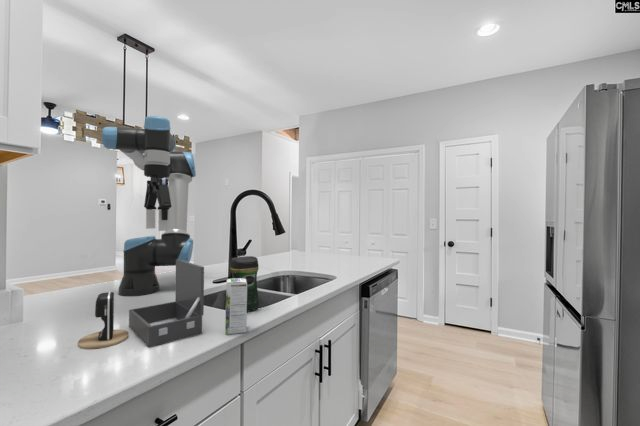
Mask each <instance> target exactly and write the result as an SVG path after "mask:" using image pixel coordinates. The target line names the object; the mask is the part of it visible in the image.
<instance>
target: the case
mask: <svg viewBox="0 0 640 426" xmlns="http://www.w3.org/2000/svg"><path fill="white" fill-rule="evenodd" d="M204 286H205V266H201V265H198V264H195V263H191V262H186V261H182V260H179V259H176V266H175V301H171V302H166V303H159V304H153V305H150V306H149V305H148V306H142V307H137V308H131V309H129V310H128V328H130V329H131V330H132V332H133V333H134V334H135V335H136V336H137V337H138V338H139V339H140V340H141V341H142V343H144V344H145V345H146V346H147V347H148V348H153V347H156V346H159V345H163V344H167V343H170V342H171V343H172V342H174V341H178V340H183V339H186V338H189V337H190V338H191V337H194V336H197V335H201V334H203V316H204V310H205V309H204V307H205V305H204V304H205V303H204V300H205V299H204V297H205V294H204V293H205V291H204V289H205V287H204ZM171 319H177V320H172V321H167V320H171ZM163 321H167V322H163ZM157 322H158V324H154V325H151V324H153V323H157ZM159 322H162V323H159Z"/></svg>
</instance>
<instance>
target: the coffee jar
mask: <svg viewBox="0 0 640 426" xmlns="http://www.w3.org/2000/svg"><path fill="white" fill-rule="evenodd" d="M258 260H259V259H258V257H256V256H251V255H249V256H248V255H247V256H246V255H245V256H237V257H231V259H230V267H229V270H230V272H231V273H230V274H231V279H233V278H243V279H246V280H247V312H252V311H254V310H257V309H258V308H259V307H260V303H259V292H258V273H259V272H258V271H259V261H258Z"/></svg>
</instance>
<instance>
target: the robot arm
mask: <svg viewBox="0 0 640 426" xmlns="http://www.w3.org/2000/svg"><path fill="white" fill-rule="evenodd" d="M143 124H144V125H143V128H130V127H128V128H127V127H119V126H105V127H104V128H103V129H102V130H101V143H102V144H103V147H104V148H105V149H106V150H113V151H115V150H117V151H120V152H122V153H123V155H125V156H126V157H128V158H129V159H130V160H132V161H133V164H134V165H135V166H136V167H137V168H139V170H142V171H143V176H145V177H147V178H150V179H148V180H147V181H146V191H145V199H144V204H143V207H144V208H145V212H146V213H145V228H146V229H147V230H149V229H156V210H157V211H158V232H161V231H162V232H163V233H162V234H161V237H160V238H156V236H155V235H150V236H141V237H134V238H129V239H127V240H125V241H124V244H123V250H122V252H123V275H122V278H121V281H120V284H119V286H118V295H119V296H124V297H127V296H128V297H129V296H131V297H133V296H143V295H149V294H153V293H156V292H159V291H160V282H159V280H158V277H157V275H156V267H167V266H168V267H170V266H172V267H173V266H175V267H176V259H179V260H182V261H186V262H189V263H191V260H192V255H193V250H194V246H193V245H194V239H193V238H191V235H190V234H189V233H188V232H187V228H188V224H187V223H188V207H189V205H188V203H189V202H188V201H189V186H190V185H189V183H191V182H192V181H193V178H195V177H196V176H197V175H196V174H197V173H196V164H195V158H194V154H193V153H192V152H190V151H189V152H187V151H175V149H176V145H177V144H176V142H177V141H176V139H175V137H174V136H173V134H171V121H170V120H169V119H168V118H167V117H165V116H164V117H163V116H160V115H147V116H146V117H144V123H143ZM156 203H157V204H158V207H157V206H156Z"/></svg>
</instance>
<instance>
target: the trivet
mask: <svg viewBox="0 0 640 426" xmlns="http://www.w3.org/2000/svg"><path fill="white" fill-rule="evenodd" d="M99 332H100V331H97V332H93V333H90V334H87V335H85V336H82V337H81V338H80V339H79V340H78V341H77V346H78V347H79V349H83V350H98V349H103V348H109V347H113V346H115V345H116V346H117V345H118V344H122V343H123V342H125V341H126V340H128V338H129V337H130V335H129V334H130V333H129V331H128V330H125V329H114V330H113V337H112V339H109V340H98V336H99Z"/></svg>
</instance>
